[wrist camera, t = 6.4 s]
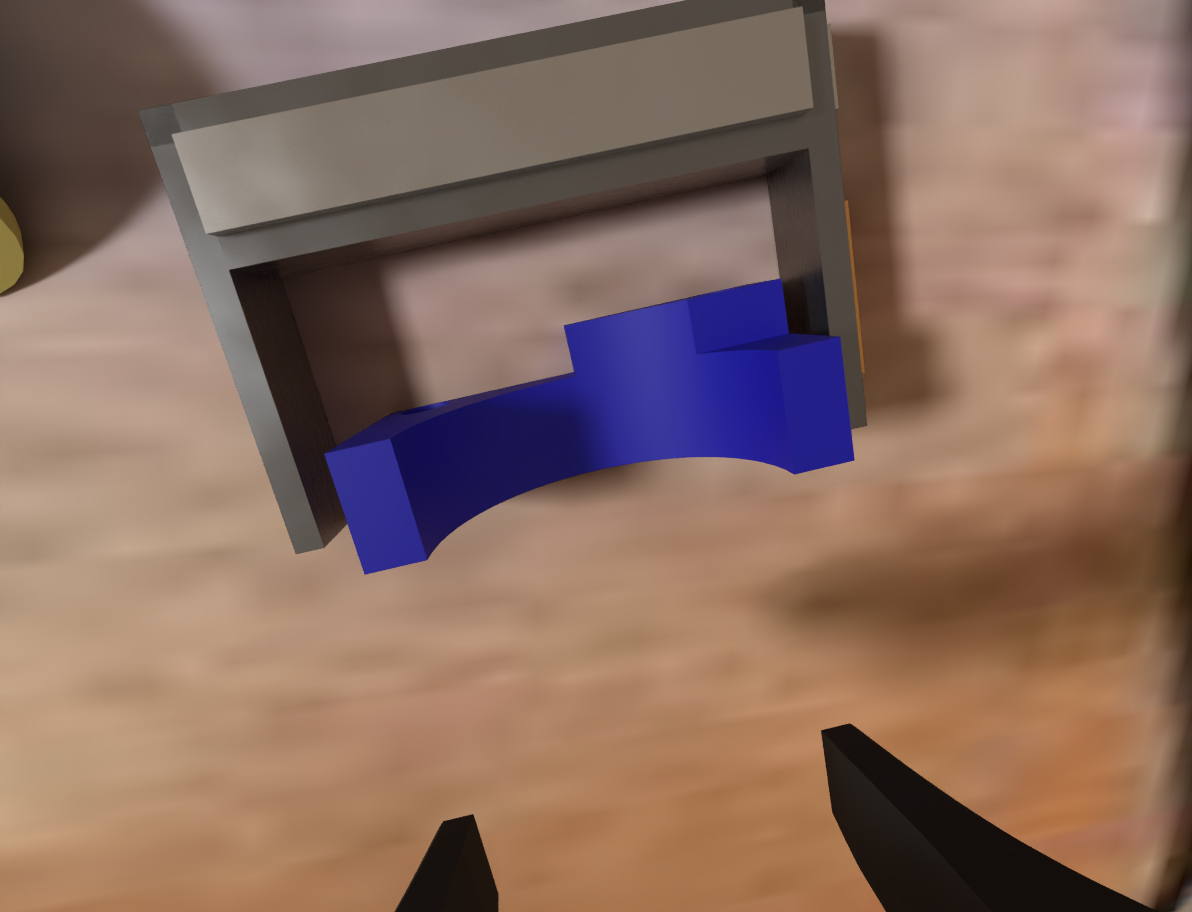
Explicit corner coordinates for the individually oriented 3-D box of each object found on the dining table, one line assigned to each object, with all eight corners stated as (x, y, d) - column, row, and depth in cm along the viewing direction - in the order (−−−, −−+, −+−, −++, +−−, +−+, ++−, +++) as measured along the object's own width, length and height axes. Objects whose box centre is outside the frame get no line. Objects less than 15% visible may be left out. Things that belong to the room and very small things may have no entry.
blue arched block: (745, 284, 19) (832, 269, 13) (765, 419, 20) (854, 460, 14) (378, 366, 19) (302, 388, 13) (418, 499, 20) (364, 574, 14)
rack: (832, 407, 20) (890, 425, 17) (333, 519, 20) (288, 561, 16) (788, 28, 17) (847, -43, 14) (208, 146, 17) (122, 103, 13)
